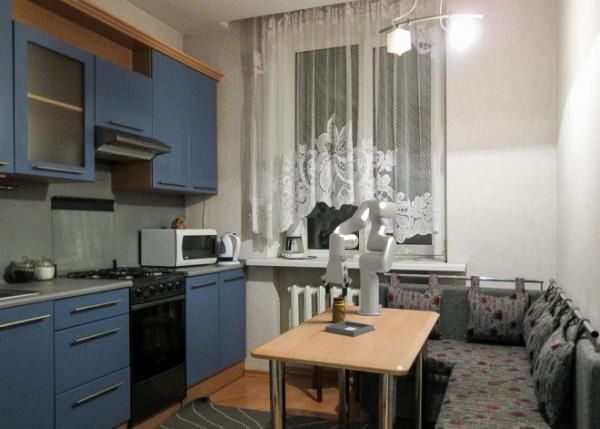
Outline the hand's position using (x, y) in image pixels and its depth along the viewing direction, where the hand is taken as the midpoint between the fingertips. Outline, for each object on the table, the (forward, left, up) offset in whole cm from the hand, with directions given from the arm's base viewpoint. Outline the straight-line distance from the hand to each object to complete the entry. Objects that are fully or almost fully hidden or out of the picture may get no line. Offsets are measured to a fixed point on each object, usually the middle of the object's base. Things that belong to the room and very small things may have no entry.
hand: (335, 295), depth 236 cm
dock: (+9, +14, -13) cm, 21 cm away
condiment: (-1, 0, -13) cm, 13 cm away
